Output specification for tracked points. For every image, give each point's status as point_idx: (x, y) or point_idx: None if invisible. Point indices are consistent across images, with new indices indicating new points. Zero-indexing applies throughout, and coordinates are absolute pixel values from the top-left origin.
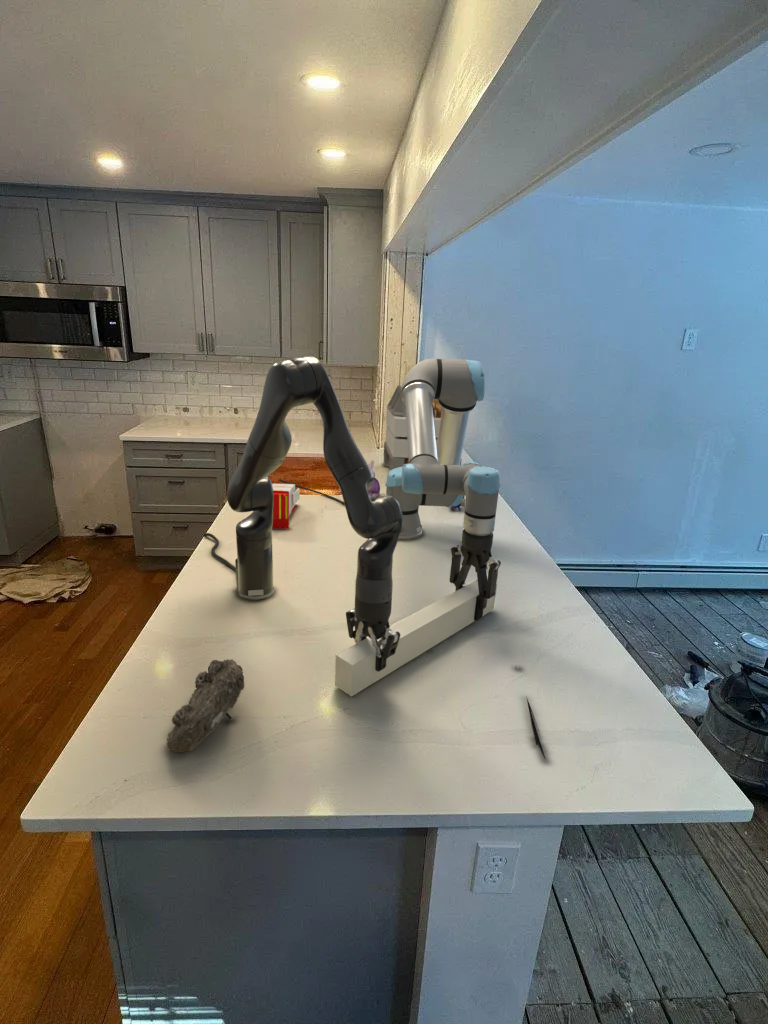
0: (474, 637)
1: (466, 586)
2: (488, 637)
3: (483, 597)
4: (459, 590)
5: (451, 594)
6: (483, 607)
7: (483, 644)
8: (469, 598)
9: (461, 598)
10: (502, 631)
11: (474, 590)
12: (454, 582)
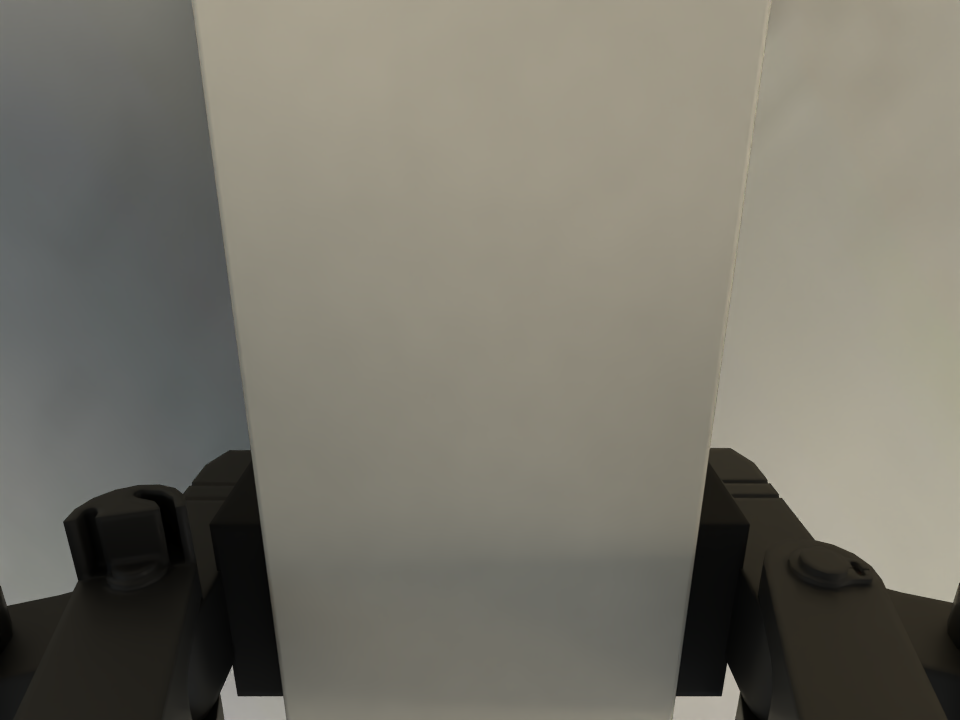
0: (185, 110)
1: (648, 686)
2: (96, 234)
3: (90, 568)
4: (667, 465)
5: (710, 153)
6: (201, 474)
7: (16, 60)
8: (268, 331)
9: (394, 177)
10: (102, 435)
11: (433, 669)
12: (929, 626)
